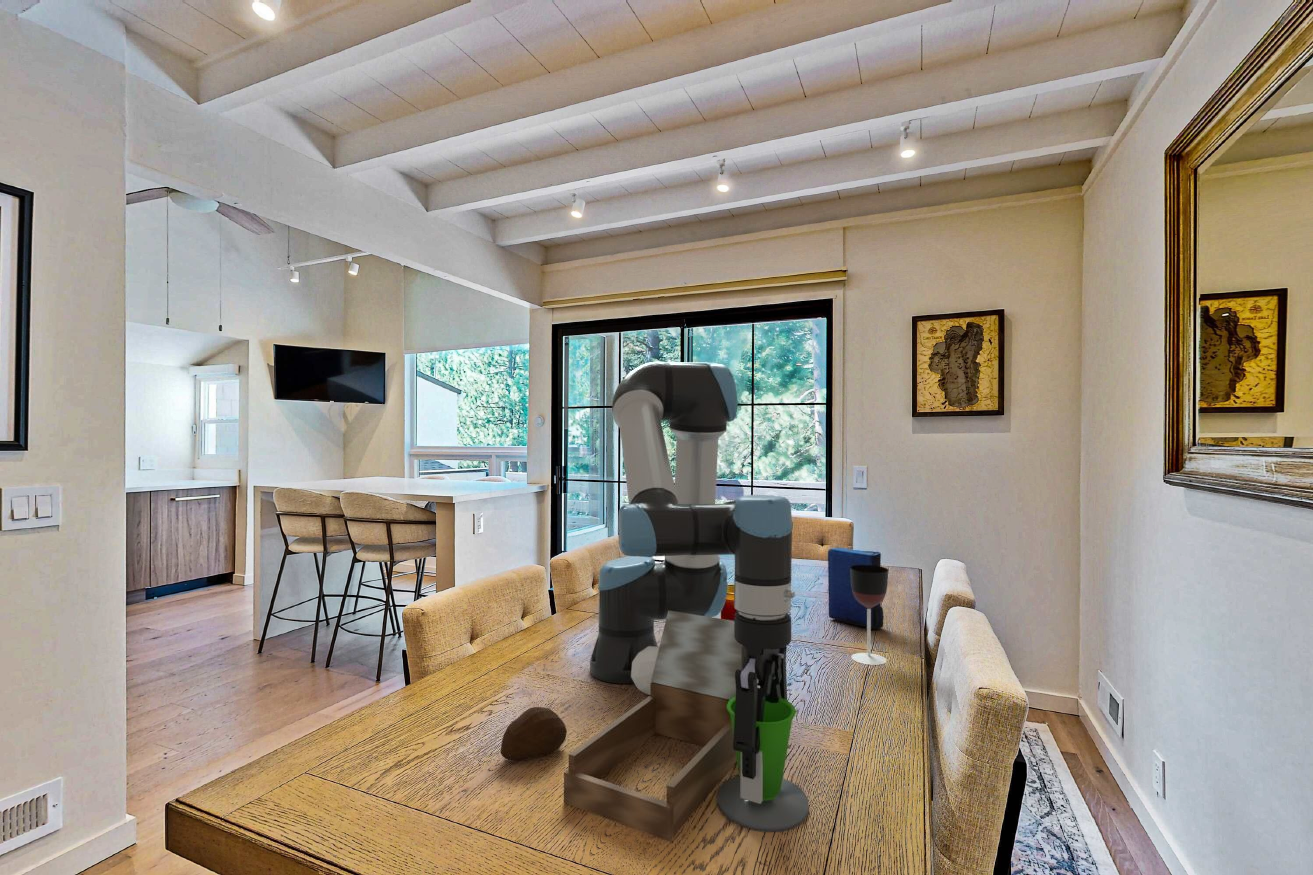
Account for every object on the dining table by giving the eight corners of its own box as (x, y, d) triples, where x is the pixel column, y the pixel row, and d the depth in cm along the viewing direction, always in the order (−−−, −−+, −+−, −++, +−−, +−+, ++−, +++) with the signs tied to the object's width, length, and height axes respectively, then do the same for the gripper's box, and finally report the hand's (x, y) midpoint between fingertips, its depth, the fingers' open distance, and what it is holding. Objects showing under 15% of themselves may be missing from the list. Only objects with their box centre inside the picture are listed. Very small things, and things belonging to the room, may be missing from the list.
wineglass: (848, 662, 134) (848, 570, 134) (851, 650, 142) (851, 563, 142) (887, 667, 131) (887, 574, 131) (888, 654, 139) (888, 566, 139)
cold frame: (563, 802, 81) (564, 662, 82) (669, 715, 107) (670, 609, 108) (669, 841, 74) (670, 686, 74) (756, 737, 100) (756, 623, 100)
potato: (491, 754, 94) (492, 709, 94) (553, 735, 100) (553, 692, 100) (510, 775, 88) (511, 726, 88) (574, 753, 94) (574, 707, 95)
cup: (796, 814, 76) (797, 725, 76) (723, 805, 78) (723, 718, 78) (794, 775, 85) (795, 695, 85) (728, 768, 86) (729, 690, 86)
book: (885, 628, 158) (886, 551, 158) (875, 632, 155) (875, 553, 155) (836, 616, 169) (836, 544, 169) (825, 620, 165) (826, 546, 166)
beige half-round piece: (615, 683, 117) (659, 711, 108) (630, 636, 118) (674, 660, 109) (645, 685, 123) (689, 711, 114) (659, 640, 124) (703, 663, 115)
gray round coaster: (702, 813, 79) (702, 807, 79) (736, 770, 90) (737, 764, 90) (792, 843, 73) (792, 836, 73) (819, 793, 84) (819, 787, 84)
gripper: (764, 637, 71) (763, 835, 71) (811, 598, 89) (810, 757, 88) (705, 627, 75) (704, 815, 75) (761, 592, 92) (761, 744, 92)
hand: (762, 783), depth 82 cm, fingers closed on cup, 7 cm apart
